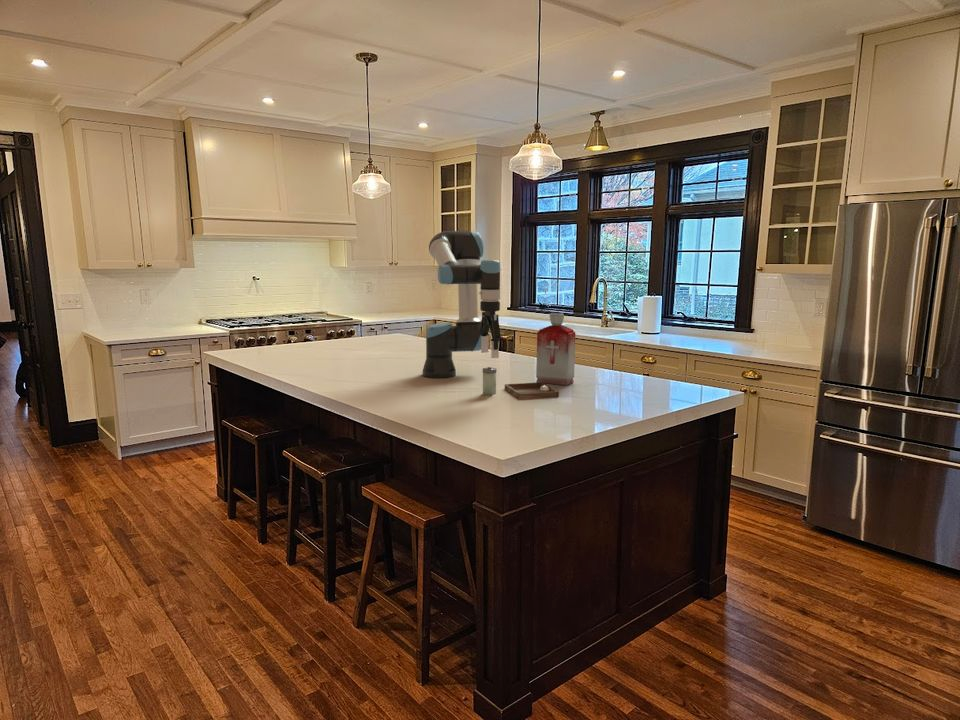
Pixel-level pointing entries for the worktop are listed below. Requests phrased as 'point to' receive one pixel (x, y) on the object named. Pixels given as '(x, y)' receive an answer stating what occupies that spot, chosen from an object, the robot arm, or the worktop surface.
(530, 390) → the tray
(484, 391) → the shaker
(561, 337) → the bottle
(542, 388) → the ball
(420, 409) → the worktop surface
